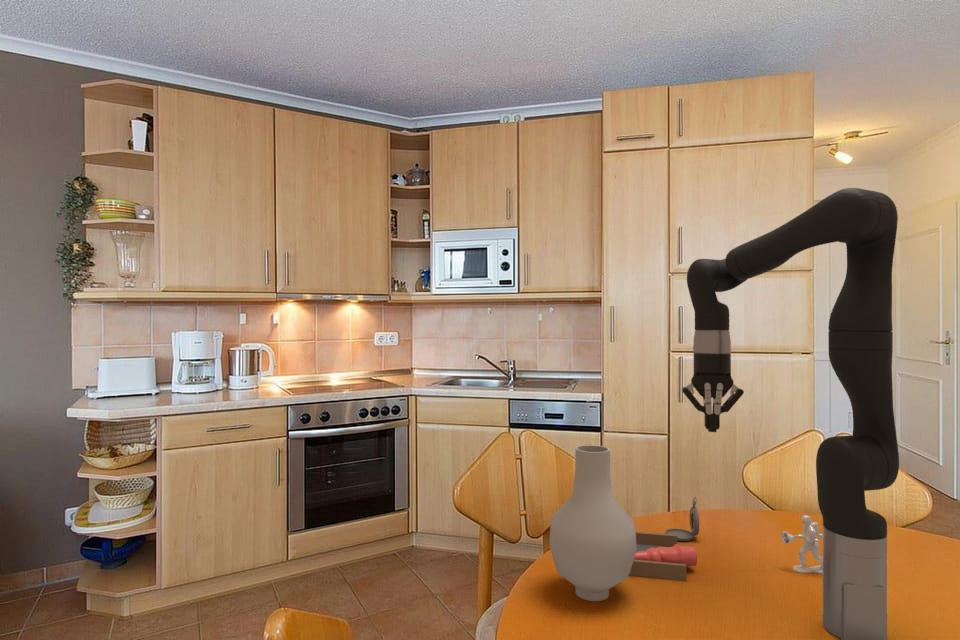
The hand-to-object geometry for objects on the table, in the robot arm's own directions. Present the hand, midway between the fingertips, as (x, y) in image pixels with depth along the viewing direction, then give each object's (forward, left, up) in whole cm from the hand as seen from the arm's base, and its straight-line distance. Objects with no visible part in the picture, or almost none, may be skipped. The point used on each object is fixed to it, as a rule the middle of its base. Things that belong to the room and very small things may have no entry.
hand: (712, 431), depth 126 cm
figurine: (+2, -19, -29) cm, 35 cm away
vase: (-19, +25, -29) cm, 43 cm away
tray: (0, +15, -29) cm, 33 cm away
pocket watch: (+16, +4, -29) cm, 34 cm away
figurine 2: (-3, +4, -26) cm, 27 cm away
